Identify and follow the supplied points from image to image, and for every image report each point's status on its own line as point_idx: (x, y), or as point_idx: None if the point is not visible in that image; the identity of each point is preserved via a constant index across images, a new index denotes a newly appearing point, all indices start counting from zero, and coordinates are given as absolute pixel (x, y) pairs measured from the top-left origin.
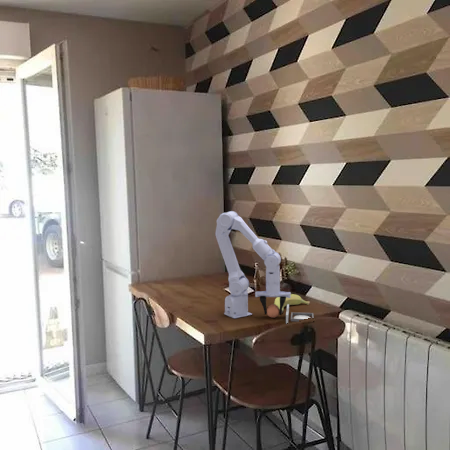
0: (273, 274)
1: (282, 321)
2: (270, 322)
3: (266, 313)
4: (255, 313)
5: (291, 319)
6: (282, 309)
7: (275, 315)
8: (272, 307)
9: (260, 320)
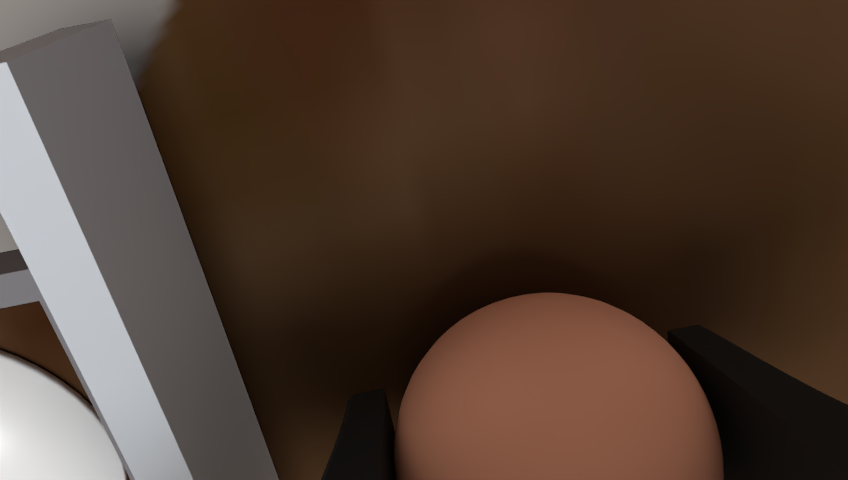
0: None
1: (256, 169)
2: (507, 10)
3: None
4: None
5: None
6: None
7: (458, 322)
8: (589, 452)
9: (746, 94)
